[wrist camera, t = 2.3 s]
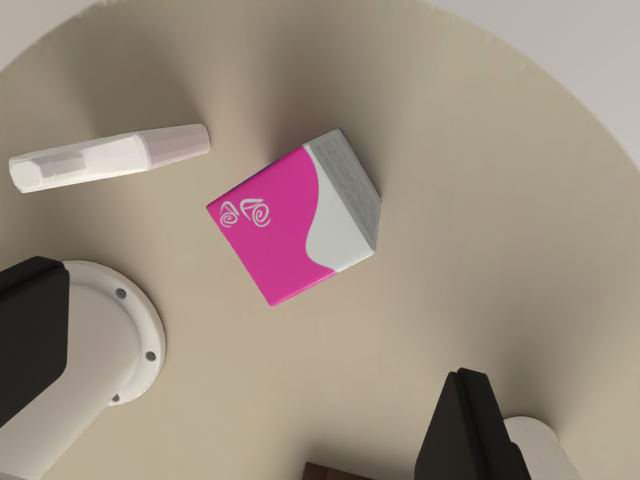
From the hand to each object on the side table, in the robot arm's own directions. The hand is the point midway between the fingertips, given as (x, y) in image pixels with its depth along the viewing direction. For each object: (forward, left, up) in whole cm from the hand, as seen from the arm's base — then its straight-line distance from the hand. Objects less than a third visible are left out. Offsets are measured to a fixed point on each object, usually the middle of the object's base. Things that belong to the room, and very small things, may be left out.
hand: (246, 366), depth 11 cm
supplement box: (-1, 0, -21) cm, 21 cm away
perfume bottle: (-13, 0, -21) cm, 25 cm away
